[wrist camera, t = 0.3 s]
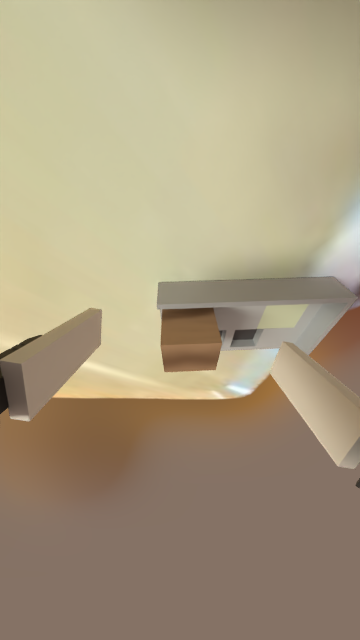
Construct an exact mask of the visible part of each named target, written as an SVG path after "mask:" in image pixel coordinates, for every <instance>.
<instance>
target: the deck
mask: <svg viewBox="0 0 360 640" xmlns="http://www.w3.org/2000/svg"><path fill="white" fill-rule="evenodd" d="M357 299H358V297H357V296H356V295H355V294H353V293H352V292H351V291H350V290H349V289H347V288H346V287H345V286H344V285H343V284H341V283H340V282H339V281H338V280H337V279H336V278H334V277H308V278H278V279H247V280H216V281H185V282H159V283H158V296H157V309H160V312H161V320H162V309H185V308H213V309H214V313H215V317H216V321H217V324H218V328H219V332H220V336H221V340H222V346H221V350H220V351H224V350H249V349H274V348H280V346H281V344H282V342H283V341H284V342H290V343H293V344H295V345H296V346H297V347H298V348H299V349H301V350H302V351H303V352H304V353H306V354H307V355H309V354H310V353H311V352H312V351H313V349H314V348H315V347H316V346H317V345H318V344H319V343H320V341H321V340H322V339H323V338H324V337H325V335H326V334H327V333H328V332H329V331H330V330H331V329H332V327H333V326H334V325H335V324H336V323H337V322H338V321H339V319H340V318H341V317H342V316H343V315H344V313H345V312H346V311H347V310H348V309H349V308H350V307H351V306H352V304H353V303H354V302H355V301H356V300H357Z"/></svg>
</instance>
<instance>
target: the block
mask: <svg viewBox="0 0 360 640" xmlns="http://www.w3.org/2000/svg"><path fill="white" fill-rule="evenodd" d="M221 346H222V340H221V336H220V332H219V328H218V324H217V321H216V317H215V313H214V309H213V308H185V309H162V326H161V351H162V358H163V365H164V372H178V371H201V370H216V366H217V362H218V358H219V354H220V350H221Z"/></svg>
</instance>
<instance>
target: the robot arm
mask: <svg viewBox="0 0 360 640" xmlns="http://www.w3.org/2000/svg"><path fill="white" fill-rule="evenodd" d="M101 319H102V310H101V309H95V308H89V309H88V310H86V311H84V312H83V313H81V314H79V315H77V316H76V317H74V318H72V319H70V320H69V321H67V322H65V323H63V324H62V325H60V326H58V327H56V328H55V329H53V330H51V331H49V332H48V333H46V334H44V335H39V336H35V337H32V338H29V339H27V340H25V341H23V342H21V343H19V345H16V346H14V347H12V348H11V349H8V350H6V351H5V352H3V353H1V354H0V414H1V413H2V412H3V411H4V410H6V409H7V408H8V409H9V414H10V419H17V420H24V421H30V420H31V419H32V418H33V417H34V416H35V415H36V414H37V413H38V412H39V411H40V409H41V408H42V407H43V406H44V405H45V404H46V403H47V402H48V401H49V400H50V399H51V398H52V397H53V396H54V394H55V393H56V392H57V391H58V390H59V389H60V388H61V387H62V386H63V385H64V384H65V383H66V381H67V380H68V379H69V378H70V377H71V376H72V375H73V374H74V373H75V372H76V371H77V370H78V368H79V367H80V366H81V365H82V364H83V363H84V362H85V361H86V360H87V359H88V358H89V357H90V355H91V354H92V353H93V352H94V351H95V350H96V349H97V348H98V347H99V346H100V345H101ZM270 374H271V375H272V376H273V378H274V379H275V381H276V382H277V383H278V385H279V386H280V388H281V389H282V390H283V392H284V393H285V394H286V396H287V397H288V398H289V400H290V401H291V403H292V404H293V405H294V407H295V408H296V410H297V411H298V412H299V414H300V415H301V416H302V418H303V419H304V421H305V422H306V423H307V425H308V426H309V427H310V429H311V430H312V432H313V433H314V434H315V436H316V437H317V438H318V440H319V441H320V443H321V444H322V445H323V447H324V448H325V449H326V451H327V452H328V454H329V455H330V456H331V458H332V459H333V460H334V462H335V463H336V465H337V466H339V467H345V468H352V469H355V468H356V466H357V465H358V464H359V462H360V397H358V396H357V395H356V394H355V393H354V392H352V391H351V390H350V389H349V388H347V387H346V386H345V385H344V384H342V383H341V382H340V381H339V380H338V379H336V378H335V377H334V376H333V375H331V374H330V373H329V372H327V371H326V370H325V369H324V368H323V367H321V366H320V365H319V364H318V363H317V362H315V361H314V360H313V359H312V358H311V357H309V356H308V355H307V354H306V353H304V352H303V351H302V350H301V349H299V348H298V347H297V346H296V345H295V344H293V343H290V342H284V341H283V342H282V344H281V346H280V349H279V351H278V354H277V356H276V358H275V361H274V363H273V366H272V368H271V370H270ZM356 486H357V487H358V488H360V479H359V480H358V481H357V483H356Z"/></svg>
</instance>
